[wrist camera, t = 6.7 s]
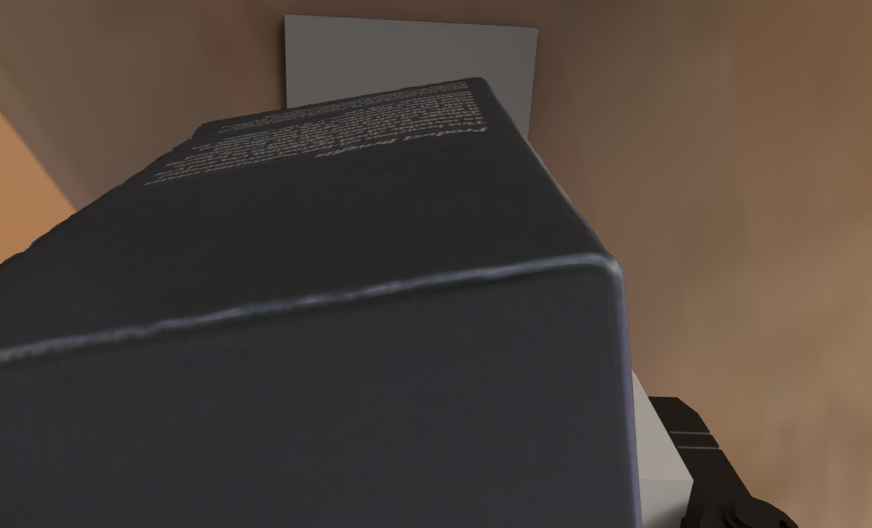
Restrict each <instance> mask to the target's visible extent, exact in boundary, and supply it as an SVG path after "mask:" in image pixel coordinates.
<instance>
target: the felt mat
mask: <svg viewBox="0 0 872 528" xmlns="http://www.w3.org/2000/svg"><path fill="white" fill-rule="evenodd" d="M538 32H539V28H537V27H521V26H502V25H483V24H464V23H445V22H427V21H408V20H389V19H370V18H351V17H333V16H314V15H295V14H285V51H286V89H287V108H294V107H300V106H304V105H309V104H316V103H322V102H327V101H333V100H339V99H344V98H351V97H357V96H361V95H367V94H373V93H380V92H386V91H393V90H398V89H402V88H407V87H415V86H422V85H428V84H433V83H441V82H446V81H454V80H459V79H464V78H473V77H481V78H483V79H485V80H486V81H487V82H488V84H489V85H490V86H491V87H492V89H493V90H494V91H495V93H496V95H497V96H498V98H499V100H500V101H501V102H502V104H503V106H504V107H505V108H506V110H507V111H508V113H509V114H510V116H511V117H512V118H513V120H514V121H515V123H516V124H517V126H518V127H519V129H520V130H521V132H522V133H523V135H524V136H525V137H526V139H527V140H528V132H529V122H530V112H531V102H532V92H533V82H534V72H535V62H536V52H537V42H538Z"/></svg>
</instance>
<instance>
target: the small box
mask: <svg viewBox="0 0 872 528" xmlns="http://www.w3.org/2000/svg"><path fill="white" fill-rule="evenodd" d="M0 528H643V527H642V513H641V499H640V485H639V471H638V458H637V442H636V427H635V411H634V395H633V379H632V367H631V355H630V344H629V330H628V315H627V300H626V290H625V280H624V272H623V270H622V269H621V267H620V265H619V263H618V262H617V260H616V259H615V258H614V257H613V256H612V255H611V254H610V253H609V252H607V251H606V250H605V249H604V247H603V245H602V244H601V242H600V240H599V239H598V237H597V235H596V234H595V233H594V231H593V230H592V229H591V227H590V226H589V225H588V223H587V222H586V221H585V219H584V218H583V217H582V215H581V214H580V213H579V211H578V210H577V208H576V207H575V205H574V204H573V203H572V201H571V200H570V198H569V197H568V196H567V194H566V193H565V191H564V190H563V189H562V187H561V186H560V185H559V183H558V182H557V181H556V179H555V178H554V177H553V175H552V174H551V173H550V171H549V170H548V169H547V167H546V166H545V164H544V162H543V161H542V159H541V158H540V157H539V155H538V154H537V153H536V151H535V150H534V148H533V147H532V146H531V144H530V143H529V141H528V140H527V139H526V137H525V136H524V135H523V133H522V132H521V130H520V129H519V127H518V126H517V124H516V123H515V121H514V120H513V118H512V117H511V116H510V114H509V113H508V111H507V110H506V108H505V107H504V106H503V104H502V102H501V101H500V100H499V98H498V96H497V95H496V93H495V91H494V90H493V89H492V87H491V86H490V85H489V84H488V82H487V81H486V80H485V79H483V78H481V77H473V78H464V79H459V80H454V81H446V82H441V83H433V84H428V85H422V86H415V87H407V88H402V89H398V90H393V91H386V92H380V93H373V94H367V95H361V96H357V97H351V98H344V99H339V100H333V101H327V102H322V103H316V104H309V105H304V106H300V107H294V108H287V109H282V110H276V111H268V112H263V113H258V114H252V115H246V116H240V117H235V118H229V119H224V120H216V121H211V122H208V123H204V124H202V125H201V126H200V127H199V128H198V129H197V130H196V131H195V132H194V133H193V134H192V135H191V136H190V138H189V139H188V140H186V141H184V142H183V143H181V144H180V145H178V146H177V147H175V148H173V149H172V150H171V152H169V153H166V154H164V155H162V156H160V157H159V158H157V159H156V160H155V161H154V162H152V163H151V164H149V165H148V166H147V167H146V168H145V169H144V170H142V171H141V172H139V173H137V174H135V175H133V176H132V177H130V178H128V179H127V180H125V181H124V182H123V183H122V184H120V185H118V186H116V187H115V188H113V189H111V190H110V191H108V192H107V193H105V194H104V195H103V196H101V197H100V198H98V199H97V200H95V201H94V202H92V203H91V204H89V205H87V206H86V207H84V208H82V209H81V210H80V211H78V212H77V213H75V214H73V215H71V216H70V217H69V218H68V219H66V220H65V221H63V222H61V223H59V224H58V225H56V226H55V227H54V228H52V229H51V230H50V231H49V232H47V233H46V234H44V235H42V236H41V237H39V238H38V239H36V240H35V241H34V242H32V243H31V245H30V247H29V248H28V249H26V250H25V251H24V252H21V253H17V254H14V255H13V256H11V257H10V258H8V259H7V260H5V261H4V262H3V263H2V264H0Z"/></svg>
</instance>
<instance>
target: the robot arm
mask: <svg viewBox="0 0 872 528" xmlns="http://www.w3.org/2000/svg"><path fill="white" fill-rule="evenodd" d="M632 379H633V395H634V411H635V427H636V442H637V458H638V471H639V485H640V499H641V513H642V527H643V528H798V525H797V524H796V523H795V522H794V521H793V520H792V519H791V518H790V517H789V516H788V515H787V514H786V513H784V512H783V511H781V510H779V509H778V508H776V507H774V506H773V505H771V504H769V503H767V502H765V501H762V500H759V499H756V498H754V497H752V496H751V495H750V493H749V492H748V490H747V489H746V487H745V486H744V484H743V482H742V481H741V479H740V478H739V476H738V475H737V473H736V472H735V470H734V468H733V467H732V465H731V464H730V462H729V461H728V459H727V458H726V456H725V455H724V453H723V451H722V450H719V445H718V444H717V442H716V441H715V439H714V437H713V436H712V435H710V434H709V432H710V431H709V430H708V428H707V427H706V425H705V424H704V422H703V420H702V419H701V417H700V416H699V414H698V413H697V412H695V411H694V410H693V409H692V408H690V407H689V406H688V405H686V404H685V403H684V402H682V401H681V400H680V399H678V398H677V397H650V396H647V395H646V393H645V391H644V389H643V388H642V386H641V384H640V382H639V380H638V379H637V377H636V375H635V373H634V371H633V369H632Z"/></svg>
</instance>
